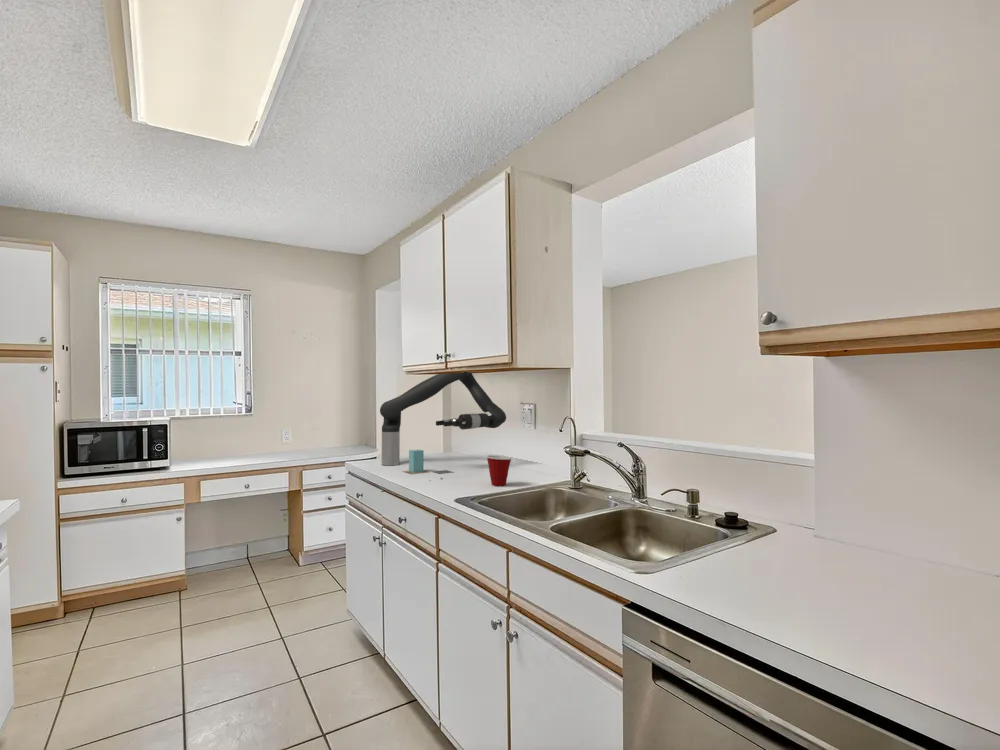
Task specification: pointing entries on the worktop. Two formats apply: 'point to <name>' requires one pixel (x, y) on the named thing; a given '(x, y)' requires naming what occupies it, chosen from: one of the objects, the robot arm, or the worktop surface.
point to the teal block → (416, 461)
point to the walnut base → (416, 473)
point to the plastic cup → (498, 469)
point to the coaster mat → (443, 472)
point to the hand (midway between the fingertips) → (440, 423)
